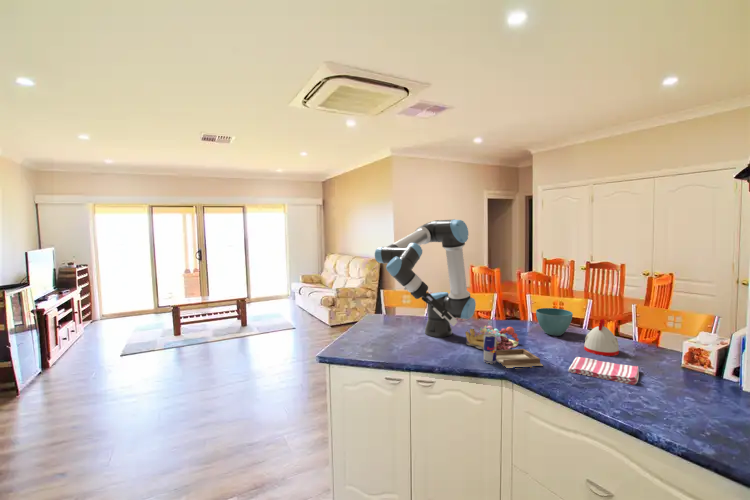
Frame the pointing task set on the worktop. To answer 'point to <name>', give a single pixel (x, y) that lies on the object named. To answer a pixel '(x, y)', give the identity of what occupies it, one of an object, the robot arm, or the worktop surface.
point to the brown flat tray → (517, 358)
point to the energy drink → (490, 348)
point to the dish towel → (605, 370)
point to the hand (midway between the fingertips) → (449, 320)
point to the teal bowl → (554, 320)
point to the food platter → (501, 339)
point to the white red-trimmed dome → (601, 341)
